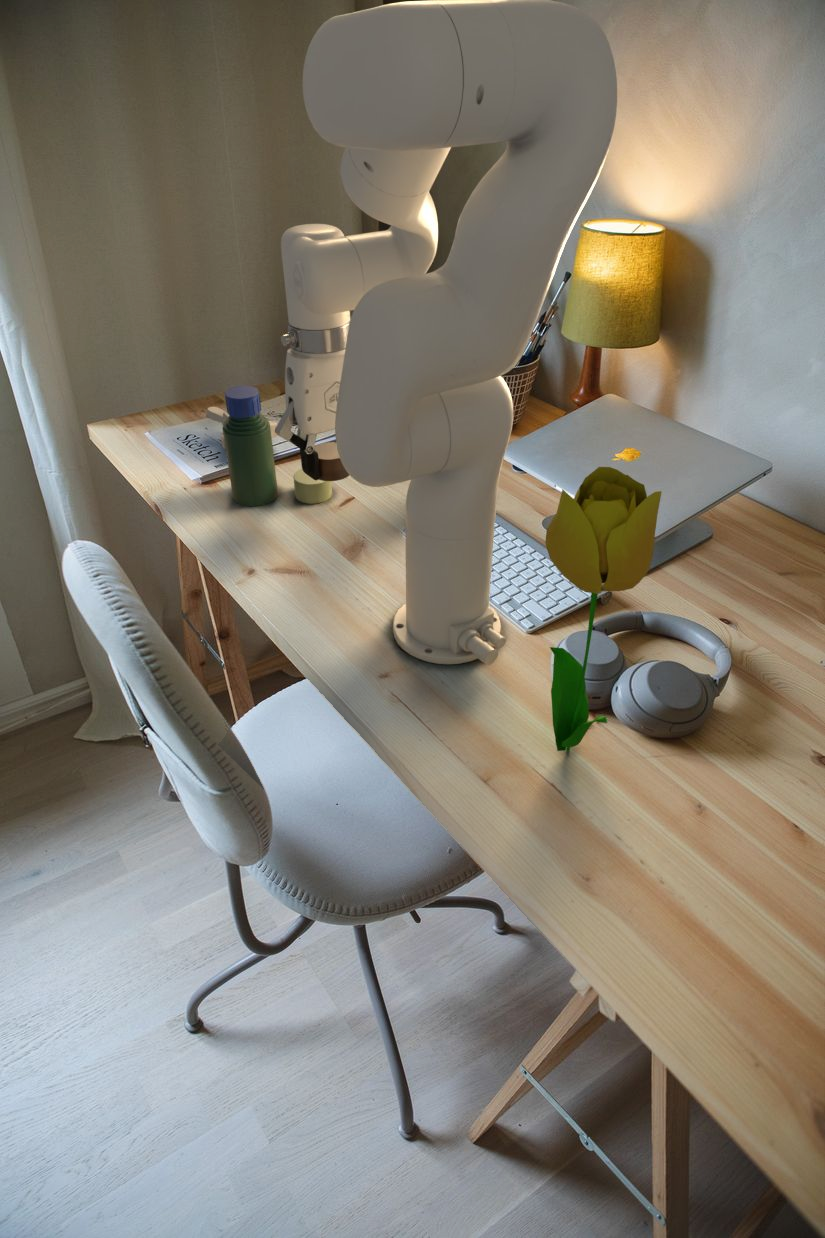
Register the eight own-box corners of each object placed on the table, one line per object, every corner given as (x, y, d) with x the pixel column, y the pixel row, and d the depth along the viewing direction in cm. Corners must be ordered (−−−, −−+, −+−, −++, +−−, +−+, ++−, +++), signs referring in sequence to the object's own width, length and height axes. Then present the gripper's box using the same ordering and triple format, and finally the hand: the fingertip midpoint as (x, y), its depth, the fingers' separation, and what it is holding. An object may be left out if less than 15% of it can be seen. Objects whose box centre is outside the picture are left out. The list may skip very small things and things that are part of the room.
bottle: (286, 497, 122) (275, 398, 112) (245, 511, 118) (231, 410, 109) (264, 480, 126) (252, 382, 116) (225, 492, 123) (209, 394, 113)
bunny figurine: (231, 443, 127) (197, 398, 136) (234, 471, 130) (201, 426, 139) (288, 429, 130) (251, 387, 139) (289, 457, 134) (253, 414, 143)
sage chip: (338, 496, 122) (337, 477, 120) (307, 507, 119) (305, 488, 117) (319, 482, 125) (318, 463, 123) (288, 492, 123) (286, 473, 121)
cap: (267, 412, 114) (264, 393, 112) (236, 421, 111) (234, 401, 110) (251, 401, 117) (249, 382, 115) (221, 409, 114) (218, 390, 113)
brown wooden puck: (359, 473, 112) (357, 452, 110) (325, 485, 109) (323, 463, 107) (337, 459, 115) (336, 438, 113) (304, 470, 113) (302, 449, 111)
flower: (627, 752, 82) (690, 484, 63) (576, 796, 77) (628, 522, 59) (558, 708, 87) (598, 447, 68) (507, 747, 82) (535, 479, 64)
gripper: (273, 359, 95) (290, 499, 106) (395, 329, 103) (398, 462, 114) (244, 342, 100) (262, 477, 111) (362, 315, 108) (368, 444, 119)
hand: (331, 468), depth 112 cm, fingers closed on brown wooden puck, 5 cm apart
